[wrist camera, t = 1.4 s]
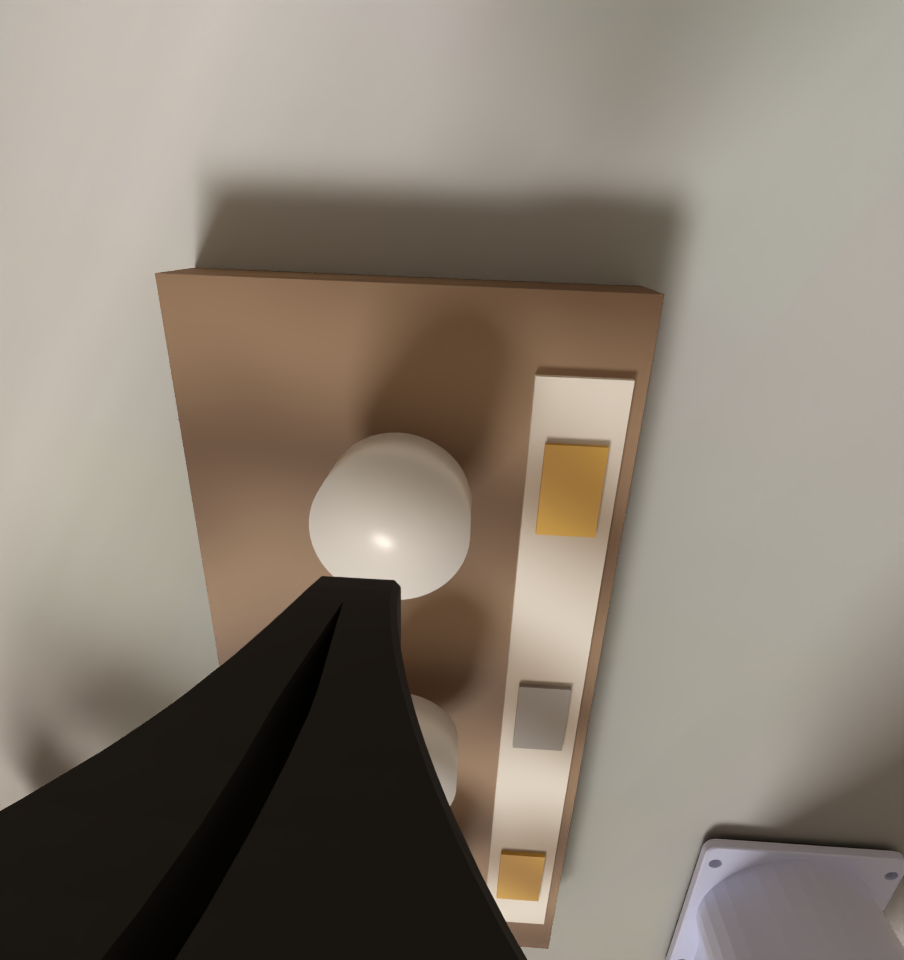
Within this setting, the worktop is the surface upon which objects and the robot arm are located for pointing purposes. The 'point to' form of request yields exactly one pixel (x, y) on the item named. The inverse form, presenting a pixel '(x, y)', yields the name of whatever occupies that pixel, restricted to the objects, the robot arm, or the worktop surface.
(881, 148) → the worktop surface
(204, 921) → the robot arm
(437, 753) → the middle button
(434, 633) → the button board
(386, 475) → the button
